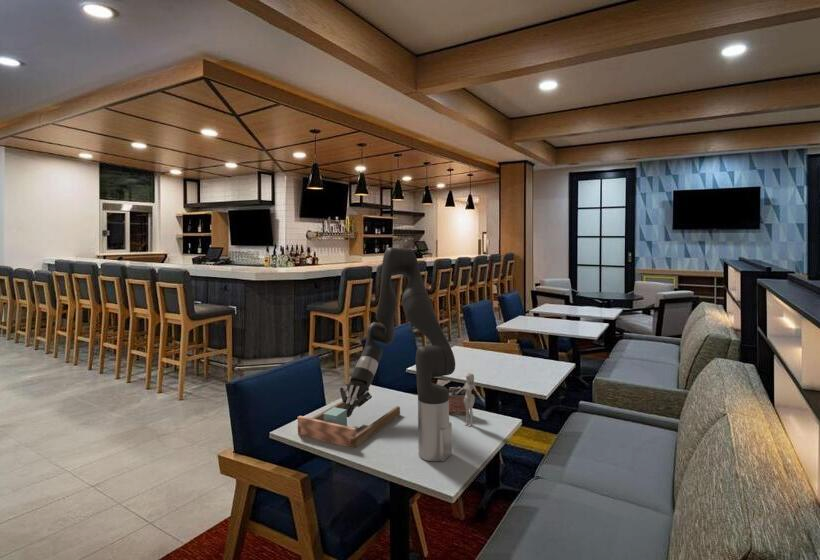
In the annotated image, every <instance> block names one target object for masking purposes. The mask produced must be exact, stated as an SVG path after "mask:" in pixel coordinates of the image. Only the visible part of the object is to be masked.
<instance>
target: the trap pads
mask: <svg viewBox="0 0 820 560" xmlns="http://www.w3.org/2000/svg"><path fill="white" fill-rule="evenodd" d="M368 426H369V425H368V424H367V425H366V424H362V425H361V426H359V427H358V428H356V434H357V433H359V432H360V431H362V430H363V429H365V428H366V427H368Z"/></svg>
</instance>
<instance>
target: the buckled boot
mask: <svg viewBox="0 0 820 560" xmlns="http://www.w3.org/2000/svg"><path fill="white" fill-rule="evenodd" d="M461 388H462V387H461V386H458V387H455V386H454V387H453V386H452V387H449V388H448V391H449V416H456V417H457V416H458V417H461V416H466V407H465V404H464V397H465V395H466V390H465V389H463V390H461V391H460V392H459V393H458V394H456V393H457V392H458V391H459V390H460V389H461ZM455 394H456V395H455Z"/></svg>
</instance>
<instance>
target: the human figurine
mask: <svg viewBox="0 0 820 560" xmlns="http://www.w3.org/2000/svg"><path fill="white" fill-rule="evenodd" d="M465 377H466V379H465V380H466V383H464V385H463V386H462V387H461V389H460V390H459V391H458V392H457V393H456V392H455V393H456V394H458V393H459V392H460V391H461V390H463V389H465V390H466V395H465V397H464V404H465V407H466V417H465V418H466V422H465V423H464V426H467V427H468V428H469V427H471V426H473V416H474V413H473V410H472V409H473V407H474V404H475V399H476V397H475V394H472V390H474V392H475V393H476V395H477V396H478V397H479V398H480V401H482V402H483V403H485V401H486V400H485V399H484V397H482V396H481V394H480V392H479V391H478V390H477V388H476V385H475V374H473V373H471V372H470V373H469V372H468V373H467V374H466V376H465ZM456 394H455V395H456ZM469 418H470V422H469Z"/></svg>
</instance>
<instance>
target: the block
mask: <svg viewBox="0 0 820 560" xmlns="http://www.w3.org/2000/svg"><path fill="white" fill-rule="evenodd" d="M324 421H326V422H330V423H335V424H339V425H344V426H348V417H347V409H341V408H336V407H334V408H332V409H330V410H329V411H327V412H325V413H324Z"/></svg>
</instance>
